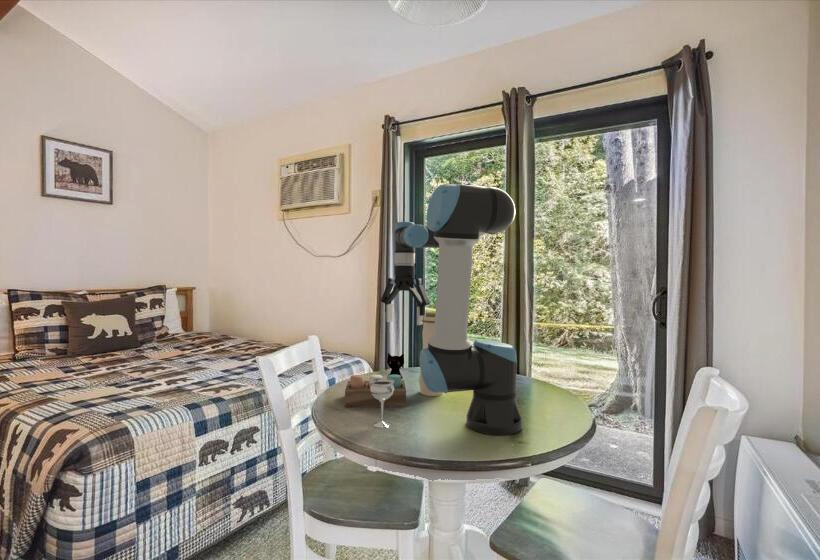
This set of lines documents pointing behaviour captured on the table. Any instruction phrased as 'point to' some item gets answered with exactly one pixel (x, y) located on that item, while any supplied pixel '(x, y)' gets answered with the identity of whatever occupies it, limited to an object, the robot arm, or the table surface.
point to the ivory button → (374, 378)
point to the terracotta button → (357, 381)
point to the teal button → (396, 380)
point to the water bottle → (427, 334)
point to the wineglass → (382, 396)
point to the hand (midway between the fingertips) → (404, 323)
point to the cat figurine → (395, 364)
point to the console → (366, 399)
